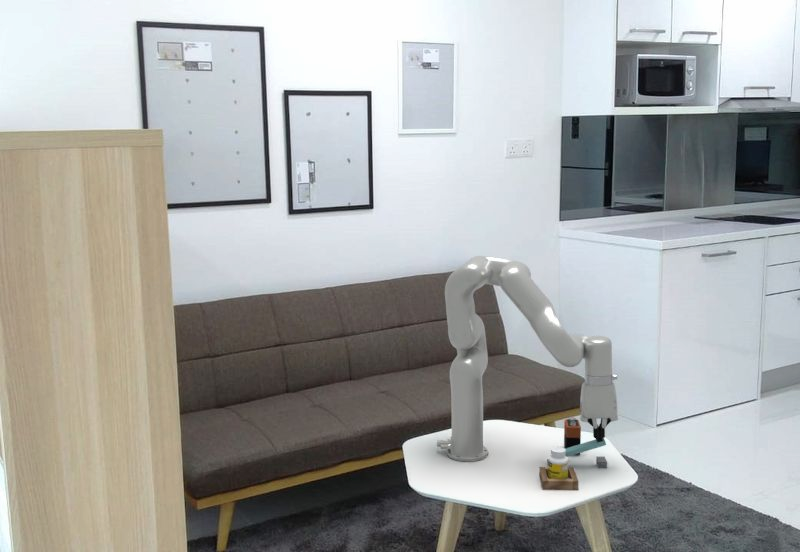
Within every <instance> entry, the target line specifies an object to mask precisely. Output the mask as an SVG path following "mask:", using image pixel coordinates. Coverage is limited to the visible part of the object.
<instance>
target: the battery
mask: <svg viewBox="0 0 800 552" xmlns="http://www.w3.org/2000/svg"><path fill="white" fill-rule="evenodd" d="M563 425H564V426H563V427H564V429H563V430H564V431H563V433H564V434H563V448H564V449H566V448H569V447H572V446H576V445H579V444H582V443H581V439H582V435H581V432H582V428H581V427H582V426H581V424H580V420H579V419H576V417H575V416H574V417H573V416H570V417H568V419H564V424H563ZM579 455H581V453H578V454H575V455H574V456H579Z"/></svg>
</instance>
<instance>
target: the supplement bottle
mask: <svg viewBox="0 0 800 552" xmlns="http://www.w3.org/2000/svg"><path fill="white" fill-rule="evenodd" d="M550 454H551V455H549V457H548V459H549V460H548V463H547V467H548V479H569V478H568V467H569V459H568V457H566V456H565V455H566V450H565V448H564V447H563V446H553V447H552V448H550Z"/></svg>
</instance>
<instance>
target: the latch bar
mask: <svg viewBox="0 0 800 552" xmlns="http://www.w3.org/2000/svg"><path fill="white" fill-rule="evenodd" d="M606 442H607V441H606V440H605V438H603V442H601V441H599V442H597V441H596V438H594V439H593V440H590V441H586V442H582V443H580V444H579V445H576V446H572V447H569V448H566V449H565V448H564V449H565V450H566V455H565V456H566V457H567V458H568V457H570V456H576V455H575V454H578V453H580V454H581V453H584V452H588V451H591V450H594V449H597V448H602V447H605V446H607V443H606Z"/></svg>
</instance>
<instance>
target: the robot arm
mask: <svg viewBox="0 0 800 552" xmlns="http://www.w3.org/2000/svg"><path fill="white" fill-rule="evenodd" d="M484 285H488V286H489V285H492V286H496V287H500V288H501V290H502V291H503V293H504V294H505V295H506V296H507V297H508V299H509V300H510V301H511V302H512V303H513V304H514V306H515V307H516V308H517V309H518V310H519V312H520V313H521V314H522V315H523V317H525V319H526V320H527V321H528V323H529V325H530V327H531V329H532V331H534V333H535V334H536V336H537V337H538V339H539V340H540V342H541V343H542V345H543V347H545V349H546V350H547V351H548V352H549V354H550V355H551V356H552V357H553V358H554V359H555V361H556V362H557V363H558V364H560V365H561V366H563V367H566V368H575V367H577V366H578V365H579V364H581V362H582V360H584V372H585V373H584V382H582V383H581V384H582V385H581V389H580V399H579V400H580V402H579V403H580V404H579V411H580V416H579V419H580V420H579V421H580V422H583V423H588V424H589V425H590V426H592V429H593V430H592V431H593V433H592V434H593V435H592V436H593V438H594V439H596V441H597V442H599V441H601V442H603V438H604V439H605V437H606V431H605V430H606V428H607V426H608V425H609V424H610V423H611V422H612V423H613V422H615V421H618V420H619V417H618V401H617V392H616V386H615V382H614V381H615V380H618V375H617V374H613V361H612V360H613V356H612V355H613V351H612V349H613V348H612V347H613V346H612V345H613V344H612V343H613V342H612V340H611V338H609V337H608V336H605V335H604V336H603V335H593V336H590V335H584V334H583V335H582V334H576V333H568V332H567V331H566V329H565V328H564V327H563V326H562V324H561V322H560V321H559V318H558V316H557V314H556V311H555V307H554V305H553V303H552V302H551V300H550V299H549V298H548V296H546V293H544V292H543V291H542V289H541V288H540V287H539V286H538V285H537V283H535V281H534V280H533V279H532V273H531V270H530V268H529V267H528V266H527V264H525V263H524V262H522V261H518V260H513V259H505V258H499V257H493V256H485V255H477V256H473V257H471V258H470V259H469V260H467V261H465V263H463V264H462V265H460V266H459V267H458V268H456V269H455V270H454V271H452V273H450V275H449V276H448V278H447V280H446V282H445V287H444V298H445V311H446V313H445V314H446V322H447V332H448V339H449V342H450V344H451V345H452V347H453V348H455V349H456V354H457V355H456V356H455V358H453V360H452V363H451V365H450V367H449V368H450V369H449V384H450V393H451V394H450V395H451V396H450V397H451V398H450V399H451V401H450V403H451V404H450V406H451V436H450V438H449V439H447V440H443V439H440V440H439V439H437V440H436V446H437V447H438V448H439V447H440V449H441V450H446V456H447V457H448V458H450V459H452V460H454V461H460V462H470V463H471V462H477V461H482V460H484V459H485V458H487V457H488V455H489V449H488V448H487V447H486V446H484V392H483V390H484V389H483V375H484V373H485V372H486V369H487V367H488V364H489V363H488V362H489V354H488V347H487V337H486V336H487V335H486V329H485V323H484V322H483V319H482V318H481V316H479V315H478V314H477V313H476V305H475V300H474V293H475V291H477V290H479V289H481V288H482V287H483V286H484ZM598 419H600V422H599V424H598V421H597V420H598Z"/></svg>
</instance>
